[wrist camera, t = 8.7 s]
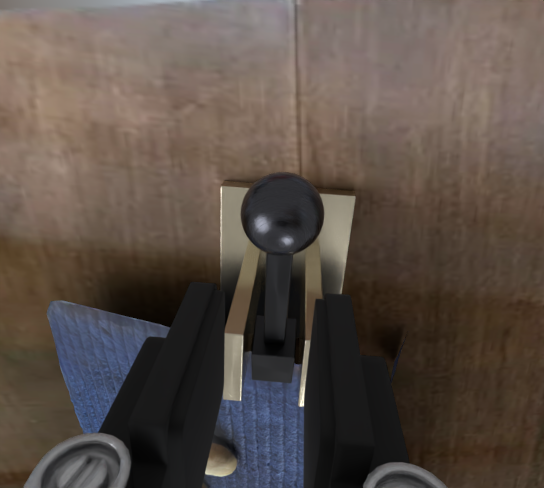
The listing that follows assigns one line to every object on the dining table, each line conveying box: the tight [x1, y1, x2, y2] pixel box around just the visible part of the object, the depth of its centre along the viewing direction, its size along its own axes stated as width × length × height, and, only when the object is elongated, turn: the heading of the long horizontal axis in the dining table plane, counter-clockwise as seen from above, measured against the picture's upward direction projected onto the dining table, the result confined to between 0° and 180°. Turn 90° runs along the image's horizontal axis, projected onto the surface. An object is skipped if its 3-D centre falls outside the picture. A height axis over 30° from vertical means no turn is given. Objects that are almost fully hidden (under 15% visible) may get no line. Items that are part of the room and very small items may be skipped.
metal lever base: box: [220, 181, 356, 407], centre depth 28 cm, size 12×9×12 cm
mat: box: [47, 301, 408, 488], centre depth 43 cm, size 45×27×12 cm, turn 1°
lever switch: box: [241, 172, 324, 383], centre depth 21 cm, size 13×3×3 cm, turn 177°
